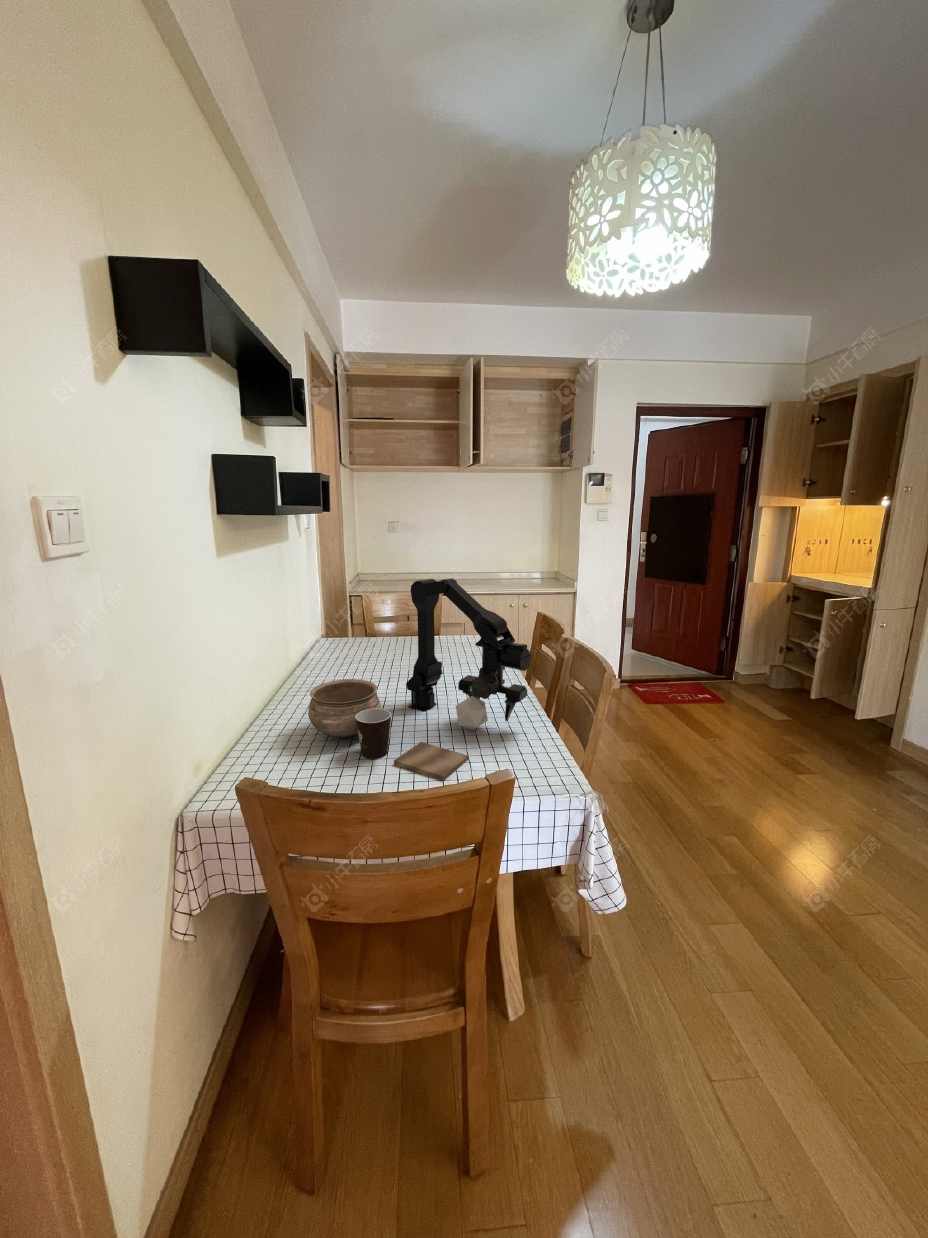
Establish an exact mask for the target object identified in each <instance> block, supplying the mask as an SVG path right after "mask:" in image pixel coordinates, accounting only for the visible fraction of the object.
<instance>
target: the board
mask: <svg viewBox="0 0 928 1238" xmlns="http://www.w3.org/2000/svg"><path fill="white" fill-rule="evenodd" d="M468 761H469V755H468V754H465V753H461V752H457V751H454V750H451V749H447V748H444V747H441V746H437V745H434V744H430V743H427V742H424V741H423V742H422V741H420V742H419V743H417V744H415V745H414V746H413V747H411V748H409V749H408V750H407V751H405V752H404V753H403V754H401V755H399V756H398V757H397V758H395V759H394V760H393V765H394V766H396V767H399V768H401V769H406V770H409V771H412V772H414V773H418V774H421V775H424V776H426V777H430V778H433V779H436V780H439V781H442V782H445V781H446V780H447V779H448V778H450V776H452V775H453V774H454V773H455V772H456V771H458V769H460V768H461V767H462V766H463V765H464V764H465V763H466V762H468Z"/></svg>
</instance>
